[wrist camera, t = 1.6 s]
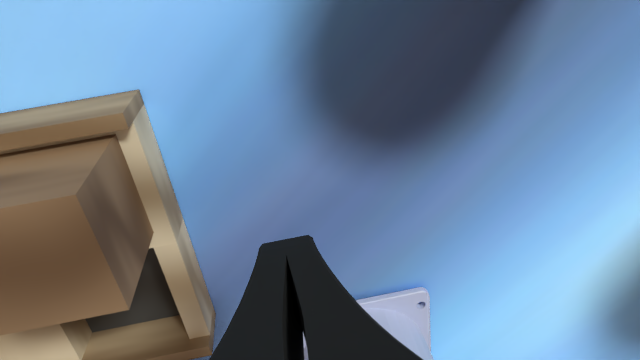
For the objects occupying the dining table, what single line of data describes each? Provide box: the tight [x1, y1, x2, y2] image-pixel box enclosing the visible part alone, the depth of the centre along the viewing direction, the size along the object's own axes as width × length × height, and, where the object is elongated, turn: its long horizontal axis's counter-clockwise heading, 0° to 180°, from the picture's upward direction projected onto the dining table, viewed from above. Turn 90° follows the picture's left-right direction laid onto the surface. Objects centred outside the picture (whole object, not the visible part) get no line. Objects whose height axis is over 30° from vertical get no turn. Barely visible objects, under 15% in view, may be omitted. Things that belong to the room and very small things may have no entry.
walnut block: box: [0, 134, 154, 336], centre depth 16 cm, size 4×4×4 cm
